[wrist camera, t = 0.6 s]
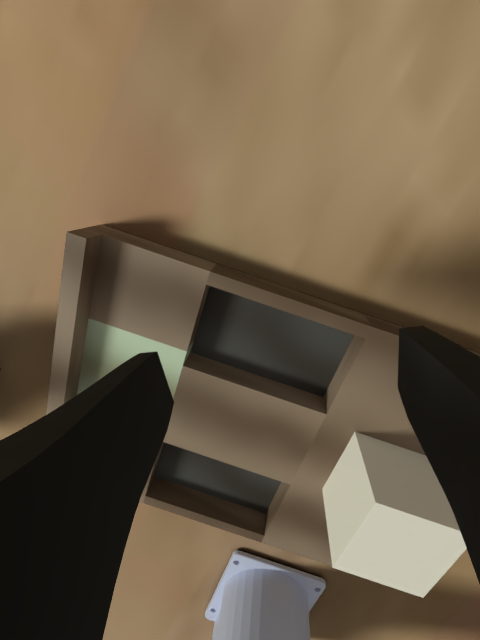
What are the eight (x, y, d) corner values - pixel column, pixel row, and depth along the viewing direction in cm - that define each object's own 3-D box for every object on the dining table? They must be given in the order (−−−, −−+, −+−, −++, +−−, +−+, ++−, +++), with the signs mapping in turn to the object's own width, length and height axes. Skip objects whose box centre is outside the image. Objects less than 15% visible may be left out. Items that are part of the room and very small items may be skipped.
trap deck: (371, 554, 27) (383, 604, 24) (67, 452, 27) (37, 488, 23) (509, 363, 20) (552, 397, 17) (101, 224, 20) (66, 231, 17)
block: (394, 513, 23) (423, 597, 18) (322, 489, 23) (332, 567, 18) (433, 458, 21) (476, 536, 16) (354, 431, 21) (375, 502, 16)
